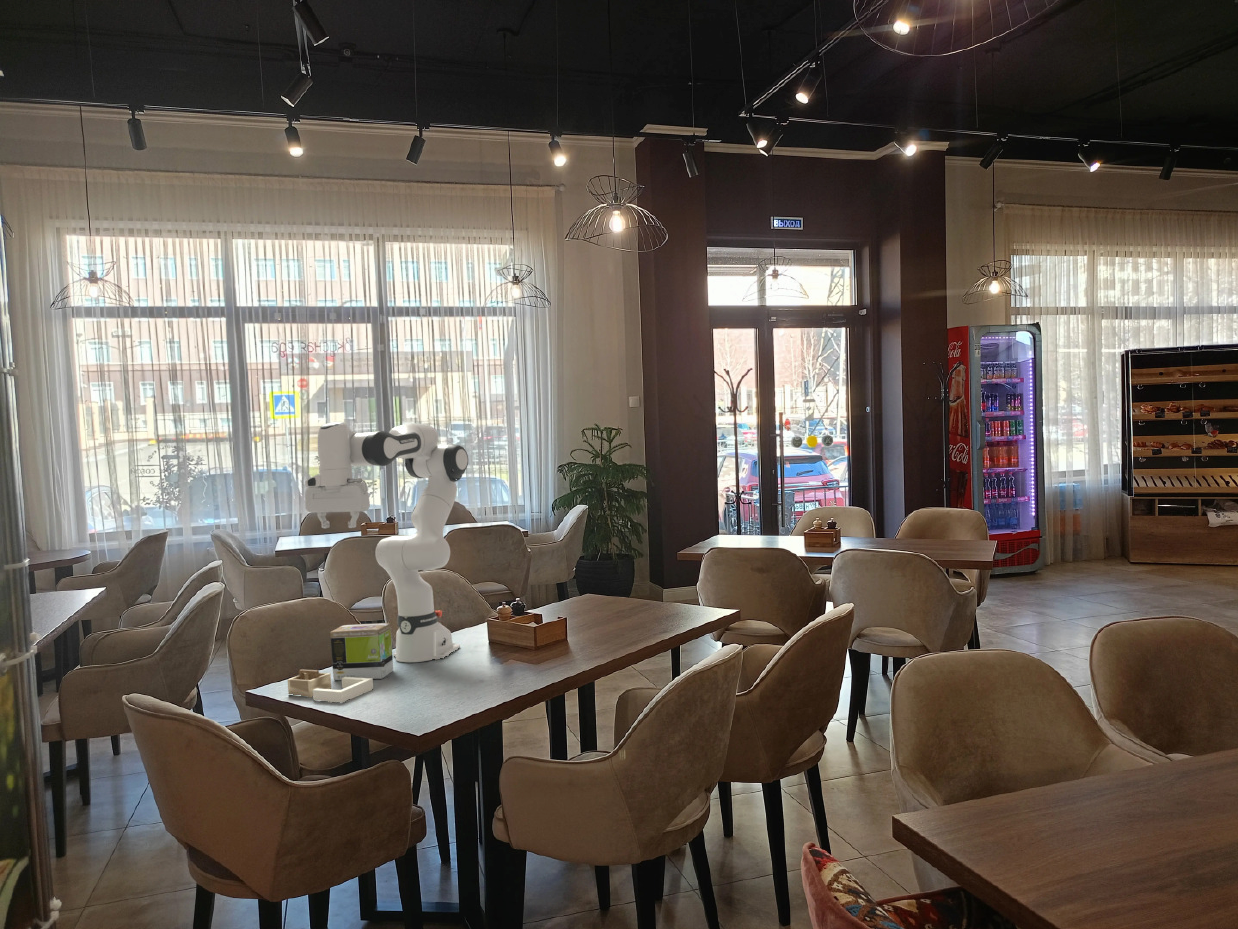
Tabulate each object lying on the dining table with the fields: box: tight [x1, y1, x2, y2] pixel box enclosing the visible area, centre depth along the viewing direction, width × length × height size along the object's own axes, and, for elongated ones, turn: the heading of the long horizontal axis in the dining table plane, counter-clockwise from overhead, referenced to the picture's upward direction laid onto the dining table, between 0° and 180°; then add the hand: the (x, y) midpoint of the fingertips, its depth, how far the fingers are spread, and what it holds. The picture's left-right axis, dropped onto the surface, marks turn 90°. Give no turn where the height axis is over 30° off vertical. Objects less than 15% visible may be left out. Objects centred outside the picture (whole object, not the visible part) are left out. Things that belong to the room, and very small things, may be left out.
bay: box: [312, 677, 374, 704], centre depth 237 cm, size 13×10×3 cm
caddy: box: [287, 669, 332, 698], centre depth 242 cm, size 8×8×6 cm
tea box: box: [329, 622, 394, 681], centre depth 256 cm, size 15×10×15 cm, turn 84°
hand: (339, 527), depth 246 cm, fingers open, 8 cm apart
